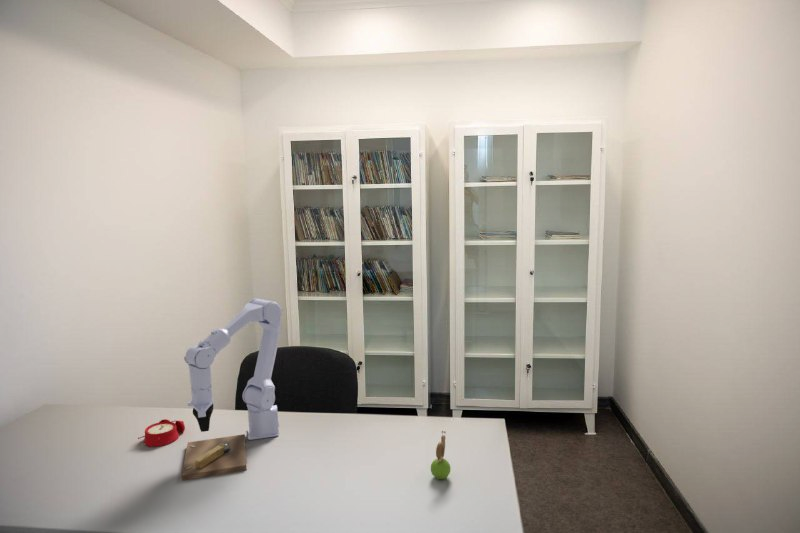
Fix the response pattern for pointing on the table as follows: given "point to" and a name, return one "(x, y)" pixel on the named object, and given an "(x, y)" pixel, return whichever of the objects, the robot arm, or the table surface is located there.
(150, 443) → the alarm clock
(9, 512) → the table surface
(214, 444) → the plate
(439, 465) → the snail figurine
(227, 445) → the tan wooden bar
